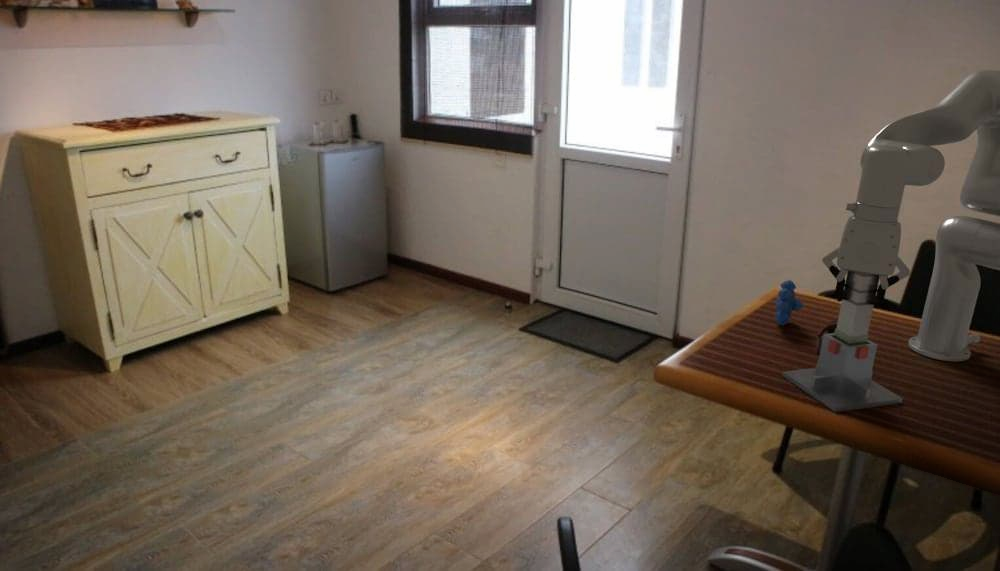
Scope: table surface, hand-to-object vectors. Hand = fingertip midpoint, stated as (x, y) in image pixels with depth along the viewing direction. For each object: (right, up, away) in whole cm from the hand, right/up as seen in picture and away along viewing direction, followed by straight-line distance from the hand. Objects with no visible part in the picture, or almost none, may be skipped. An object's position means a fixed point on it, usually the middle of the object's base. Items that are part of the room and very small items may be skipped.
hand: (857, 301), depth 147 cm
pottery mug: (+6, -12, +24) cm, 28 cm away
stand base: (-1, -18, +6) cm, 19 cm away
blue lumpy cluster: (0, -7, +38) cm, 39 cm away
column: (0, -11, +4) cm, 12 cm away
